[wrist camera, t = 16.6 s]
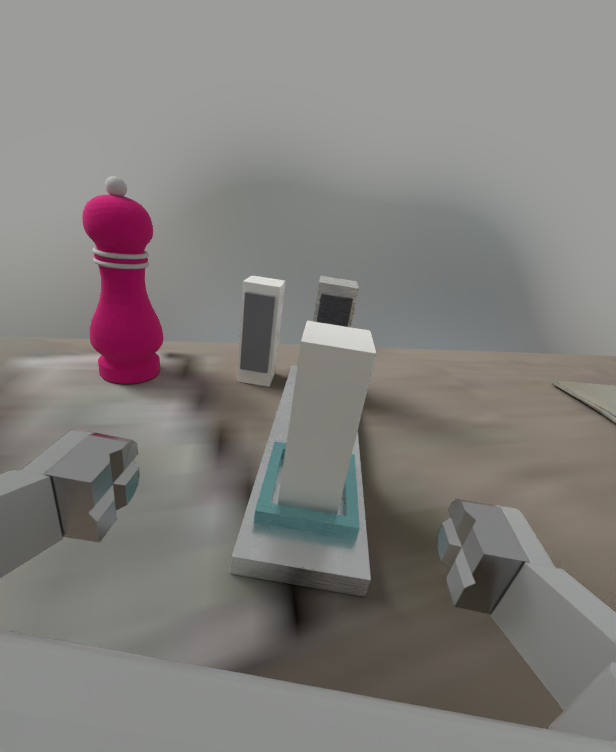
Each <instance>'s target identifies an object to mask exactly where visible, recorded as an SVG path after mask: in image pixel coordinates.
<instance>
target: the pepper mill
mask: <svg viewBox="0 0 616 752" xmlns="http://www.w3.org/2000/svg"><path fill="white" fill-rule="evenodd" d="M105 187H106V190H107V191H108V193H110V195H101V196H97V197H95V198H92V199H91V200H90V201H89V202H88V203H87V204H86V205H85V208H84V211H83V226H84V229H85V231H86V233H87V235H88V236H89V237H90V238H91V239H92V240H93V241H94V243H95V244H96V247H95V248H93V249H92V252H93V253H94V257H95V258H94V259H93V261H94V263H96V264H98V265H99V270H100V275H101V295H100V300H99V303H98V306H97V309H96V312H95V314H94V316H93V318H92V322H91V326H90V342H91V345H92V346H93V347H94V349H95V350H96V351H97V352H99V353H100V354H101V356H100V358H99V359H98V364H99V373H100V376H101V377H102V378H103V379H105V380H107V381H109V382H113V383H120V384H133V383H140V382H144V381H148V380H150V379H153V378H154V377H156V376H157V375H158V374H159V372H160V360H159V356H158V355H157V354H156V353H155V352H156V351H157V350H158V349H159V348H160V347H161V345H162V343H163V332H162V327H161V325H160V322H159V319H158V317H157V315H156V313H155V312H154V310H153V308H152V305H151V303H150V301H149V298H148V295H147V292H146V287H145V279H144V278H145V268H146V267H148V266H149V263H148V256H149V254H148V253H147V252H146V251H144V249H145V247H146V245H147V244H148V243H149V242H150V240H151V239H152V236H153V225H152V222H151V218H150V216H149V214H148V213H147V211H146V210H145V209H144V208H143V207H142V206H141V205H140V204H139V203H137V202H136V201H134V200H132V199H129V198H127V197H124V195H125V194H126V192H127V187H126V184H125V183H124V181H123V180H122V179H120V178H119V177H115V176H112V177H109V178H108V179H107V180H106V182H105Z"/></svg>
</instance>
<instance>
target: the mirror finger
mask: <svg viewBox="0 0 616 752" xmlns="http://www.w3.org/2000/svg"><path fill="white" fill-rule="evenodd" d="M284 289H285V281H283V280H277V279H271V278H264V277H258V276H250V277H249V278H247V279H246V280H244V281H243V294H242V310H241V326H240V342H239V358H238V375H237V382H243V383H249V384H255V385H261V386H268V387H270V385H271V382H272V380H273V377H274V375H275V370H276V361H277V352H278V343H279V333H280V324H281V316H282V306H283V298H284Z"/></svg>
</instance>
